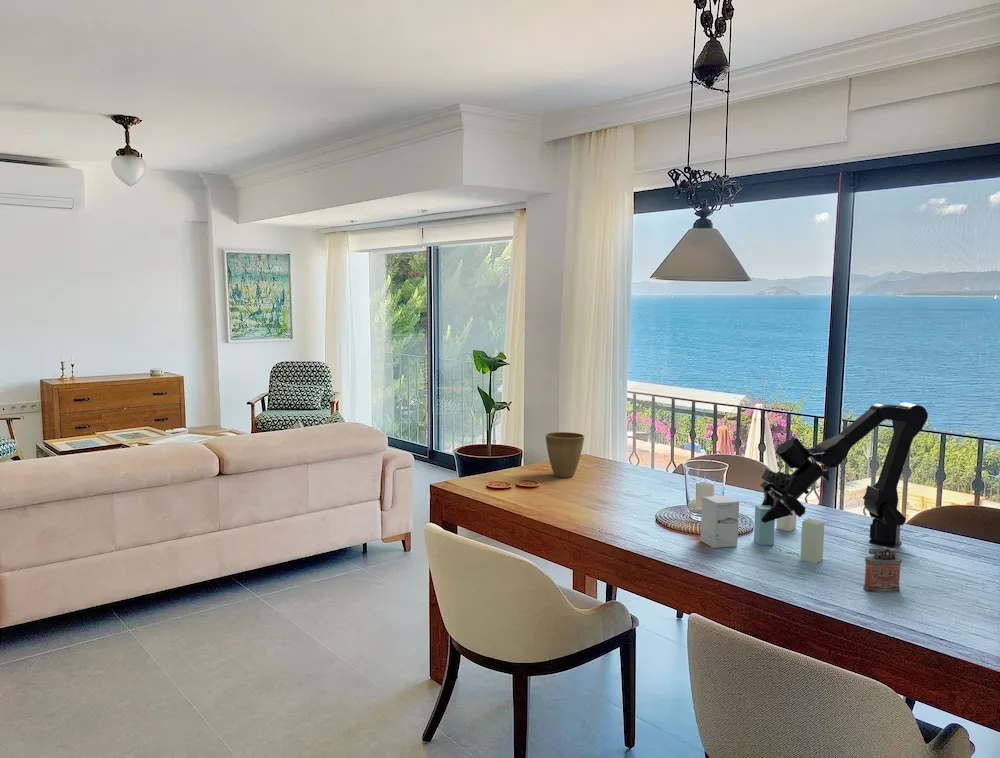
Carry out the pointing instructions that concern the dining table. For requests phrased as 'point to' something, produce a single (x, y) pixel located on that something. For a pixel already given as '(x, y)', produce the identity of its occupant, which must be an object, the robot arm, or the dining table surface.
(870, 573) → the lighter
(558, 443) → the plant pot
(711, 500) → the supplement box
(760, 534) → the teal post
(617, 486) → the dining table surface
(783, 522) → the off-white post
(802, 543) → the sage post
